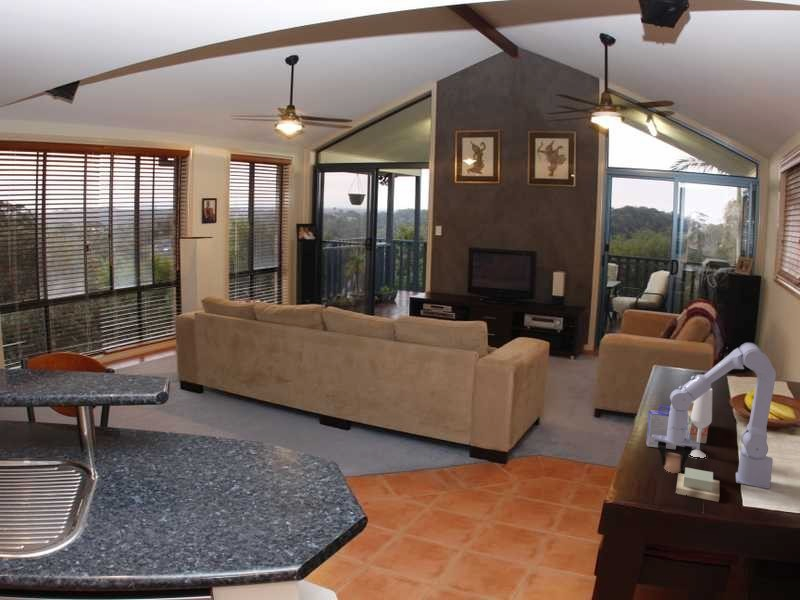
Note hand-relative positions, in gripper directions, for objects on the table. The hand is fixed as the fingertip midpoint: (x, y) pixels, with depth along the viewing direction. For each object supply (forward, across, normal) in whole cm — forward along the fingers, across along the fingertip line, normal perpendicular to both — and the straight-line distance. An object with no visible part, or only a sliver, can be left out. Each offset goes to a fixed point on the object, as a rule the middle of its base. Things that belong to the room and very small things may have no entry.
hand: (672, 466), depth 237 cm
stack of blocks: (+2, -4, -41) cm, 41 cm away
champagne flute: (+2, -7, -18) cm, 19 cm away
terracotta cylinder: (+2, 0, 0) cm, 2 cm away
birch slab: (+2, -8, +12) cm, 15 cm away
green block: (0, -8, +12) cm, 14 cm away
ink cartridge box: (+2, +5, -21) cm, 22 cm away
